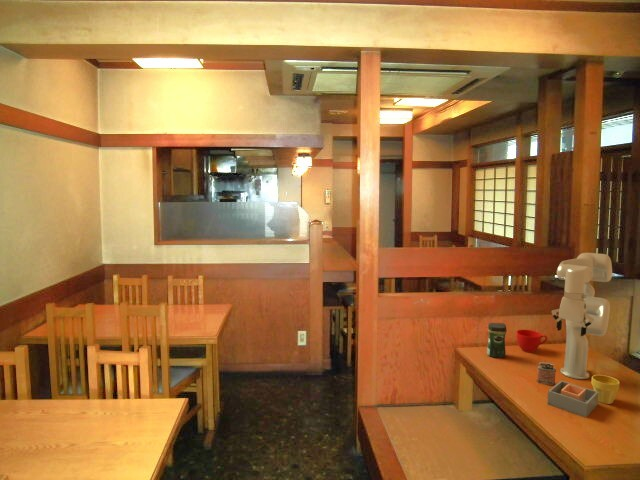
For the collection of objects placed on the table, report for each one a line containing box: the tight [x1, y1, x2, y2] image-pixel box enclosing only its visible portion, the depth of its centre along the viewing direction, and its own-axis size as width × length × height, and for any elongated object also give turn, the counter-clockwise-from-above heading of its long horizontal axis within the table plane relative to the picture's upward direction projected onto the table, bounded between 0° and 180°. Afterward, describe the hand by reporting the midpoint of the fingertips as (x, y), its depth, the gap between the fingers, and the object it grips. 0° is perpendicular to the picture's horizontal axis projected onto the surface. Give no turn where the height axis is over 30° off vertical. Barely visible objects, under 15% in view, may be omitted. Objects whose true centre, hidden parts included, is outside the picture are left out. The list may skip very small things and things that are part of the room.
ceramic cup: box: [515, 329, 548, 353], centre depth 251 cm, size 13×17×10 cm
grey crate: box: [546, 380, 599, 418], centre depth 189 cm, size 15×15×6 cm
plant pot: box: [591, 374, 621, 405], centre depth 193 cm, size 10×10×10 cm
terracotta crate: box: [561, 383, 586, 402], centre depth 189 cm, size 9×7×6 cm
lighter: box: [535, 361, 557, 386], centre depth 210 cm, size 8×3×10 cm, turn 71°
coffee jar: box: [486, 322, 507, 358], centre depth 243 cm, size 10×8×19 cm
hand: (570, 332), depth 197 cm, fingers open, 9 cm apart
